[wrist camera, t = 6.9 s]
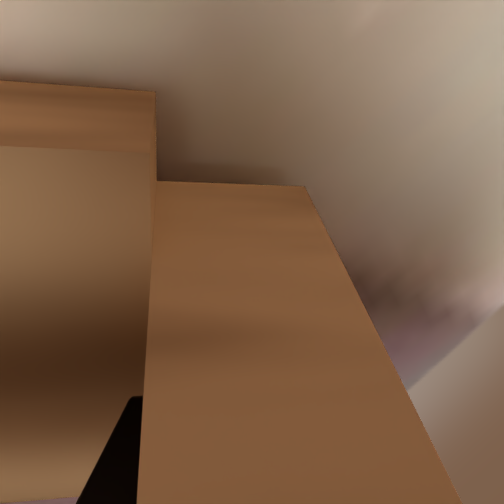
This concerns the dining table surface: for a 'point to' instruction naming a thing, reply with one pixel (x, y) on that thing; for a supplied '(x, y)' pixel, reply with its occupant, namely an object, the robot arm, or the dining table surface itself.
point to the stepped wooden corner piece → (183, 326)
